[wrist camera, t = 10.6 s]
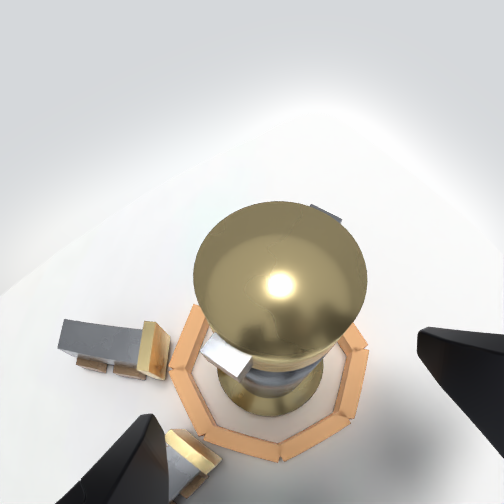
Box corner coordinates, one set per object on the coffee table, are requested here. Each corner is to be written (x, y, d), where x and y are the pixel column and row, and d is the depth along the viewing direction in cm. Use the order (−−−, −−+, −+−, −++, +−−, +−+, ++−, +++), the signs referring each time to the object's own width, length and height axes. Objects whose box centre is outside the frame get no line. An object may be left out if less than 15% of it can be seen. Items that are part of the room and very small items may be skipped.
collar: (230, 482, 13) (227, 487, 12) (156, 330, 19) (149, 322, 18) (388, 392, 16) (397, 389, 15) (300, 261, 21) (302, 250, 20)
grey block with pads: (174, 339, 19) (156, 320, 15) (168, 383, 17) (148, 373, 14) (89, 328, 19) (62, 309, 16) (81, 367, 17) (52, 353, 14)
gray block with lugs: (186, 427, 15) (168, 427, 12) (226, 458, 14) (216, 466, 11) (124, 492, 13) (97, 502, 10) (160, 523, 12) (138, 540, 9)
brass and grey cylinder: (284, 434, 15) (329, 457, 4) (201, 380, 17) (104, 298, 6) (335, 353, 18) (431, 237, 7) (256, 306, 20) (248, 150, 9)
